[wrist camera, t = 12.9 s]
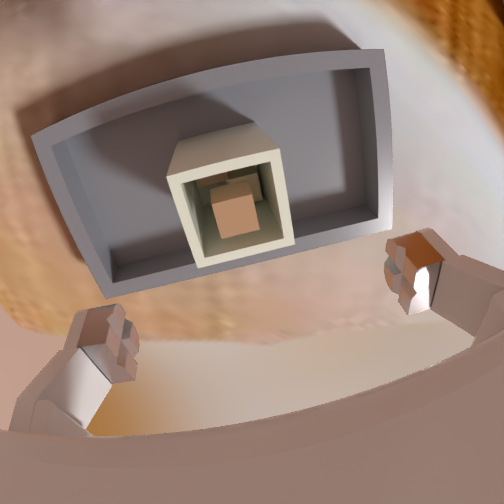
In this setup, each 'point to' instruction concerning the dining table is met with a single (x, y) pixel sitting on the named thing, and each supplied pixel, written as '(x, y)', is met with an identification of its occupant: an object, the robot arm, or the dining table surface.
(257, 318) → the dining table surface
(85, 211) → the tray
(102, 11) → the dining table surface
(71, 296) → the dining table surface
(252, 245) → the cup
